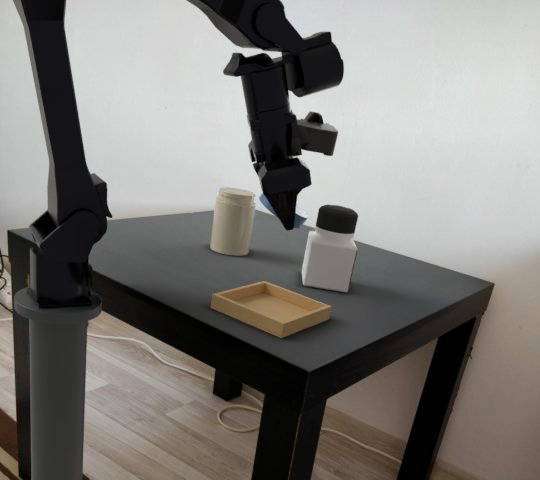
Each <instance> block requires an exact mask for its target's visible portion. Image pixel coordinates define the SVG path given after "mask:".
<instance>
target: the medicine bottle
mask: <svg viewBox="0 0 540 480" xmlns="http://www.w3.org/2000/svg"><path fill="white" fill-rule="evenodd" d="M317 211H318V212H317V217H316V221H315V227H314V230H309V231H308V236H307V239H306V246H305V250H304V257H303V261H302V267H301V281H302V285H303V286H304V287H309V288H314V289H322V290H328V291H334V292H339V293H348V292H349V291H350V290H349V289H350V285H351V282H352V281H351V280H352V276H353V272H354V268H355V264H356V259H357V255H358V251H359V250H358V249H359V248H358V247H357V245H356V242H355V241H354V239H353V238H355V237H354V236H355V233H356V228H357V225H358V220H359V214H358V212H357V211H356V210H354V209H352V208H350V207H347V206H343V205H339V204H324V205H321V206H320V207H319V208H318V210H317Z"/></svg>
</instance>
